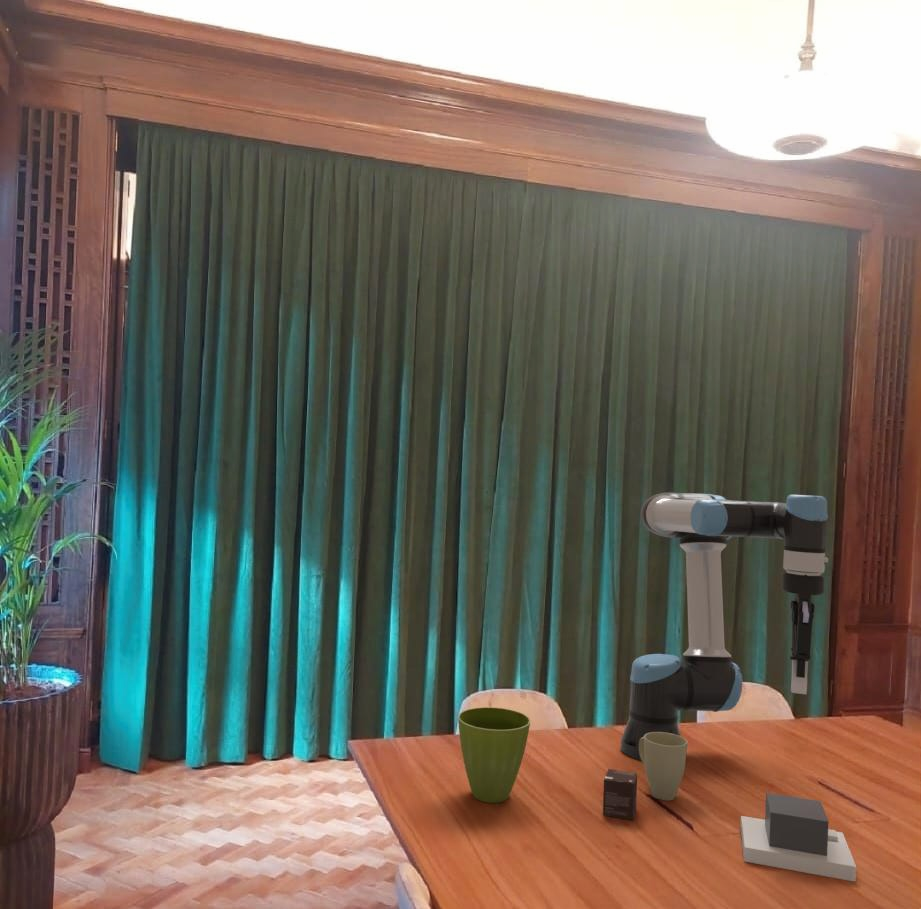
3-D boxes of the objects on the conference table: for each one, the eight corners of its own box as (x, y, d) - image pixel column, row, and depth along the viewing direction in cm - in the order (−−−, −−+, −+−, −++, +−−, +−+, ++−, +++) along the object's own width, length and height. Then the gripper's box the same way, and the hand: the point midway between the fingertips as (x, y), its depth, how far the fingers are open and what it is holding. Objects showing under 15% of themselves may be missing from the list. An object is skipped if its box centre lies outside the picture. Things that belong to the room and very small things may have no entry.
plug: (768, 857, 142) (770, 812, 142) (764, 835, 151) (766, 792, 151) (826, 867, 139) (828, 821, 139) (818, 844, 148) (820, 800, 148)
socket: (744, 861, 141) (744, 842, 141) (740, 828, 154) (741, 811, 154) (855, 881, 136) (856, 862, 136) (842, 846, 149) (842, 828, 149)
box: (636, 809, 161) (638, 773, 161) (633, 821, 155) (634, 783, 155) (606, 804, 163) (608, 768, 163) (601, 815, 157) (603, 778, 157)
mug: (688, 791, 172) (691, 735, 172) (681, 808, 163) (683, 749, 163) (638, 780, 176) (640, 726, 177) (627, 796, 167) (630, 739, 168)
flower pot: (504, 818, 154) (508, 735, 154) (440, 798, 162) (444, 719, 162) (538, 793, 166) (542, 717, 167) (477, 776, 174) (481, 703, 175)
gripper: (829, 578, 150) (824, 703, 149) (819, 571, 162) (814, 687, 162) (786, 574, 152) (781, 698, 152) (780, 567, 165) (775, 682, 164)
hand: (798, 692), depth 157 cm, fingers closed
